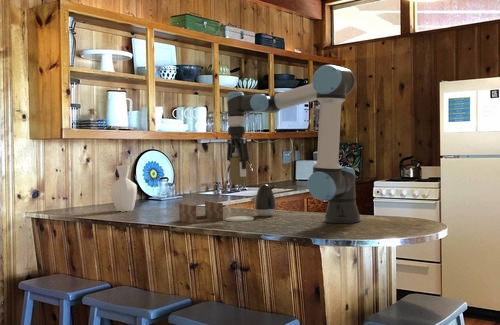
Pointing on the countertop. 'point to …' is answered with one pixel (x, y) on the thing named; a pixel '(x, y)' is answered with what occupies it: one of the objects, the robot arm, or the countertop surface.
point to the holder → (211, 211)
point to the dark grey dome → (265, 201)
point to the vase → (124, 191)
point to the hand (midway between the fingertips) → (238, 176)
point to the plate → (239, 219)
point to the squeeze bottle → (236, 169)
